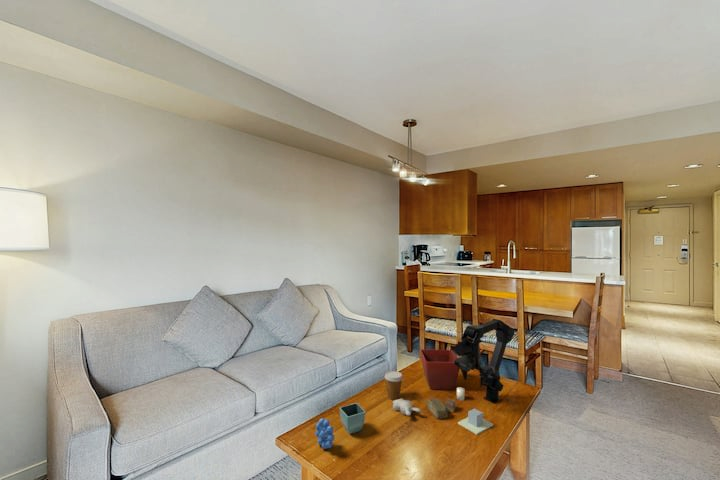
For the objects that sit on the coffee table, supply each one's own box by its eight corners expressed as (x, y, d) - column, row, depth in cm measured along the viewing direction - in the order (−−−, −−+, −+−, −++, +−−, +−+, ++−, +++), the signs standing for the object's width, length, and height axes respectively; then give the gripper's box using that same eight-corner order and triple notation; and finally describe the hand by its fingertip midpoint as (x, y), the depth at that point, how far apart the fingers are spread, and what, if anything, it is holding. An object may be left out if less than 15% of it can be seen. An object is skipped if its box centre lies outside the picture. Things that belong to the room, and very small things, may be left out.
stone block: (437, 420, 150) (437, 409, 150) (426, 408, 161) (426, 397, 161) (448, 418, 151) (448, 408, 151) (436, 406, 162) (436, 396, 162)
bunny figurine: (403, 394, 166) (422, 404, 153) (404, 405, 165) (423, 415, 152) (388, 399, 161) (406, 409, 148) (388, 409, 161) (406, 421, 148)
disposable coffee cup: (403, 401, 166) (403, 378, 166) (384, 401, 167) (385, 378, 167) (401, 392, 176) (401, 370, 176) (383, 392, 176) (384, 370, 176)
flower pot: (347, 438, 136) (347, 417, 136) (338, 427, 144) (339, 407, 144) (365, 432, 140) (366, 411, 140) (356, 422, 148) (356, 402, 148)
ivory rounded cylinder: (459, 395, 173) (459, 386, 173) (466, 399, 170) (466, 389, 170) (454, 398, 171) (455, 388, 171) (461, 401, 167) (461, 391, 167)
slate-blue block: (474, 419, 150) (474, 408, 150) (482, 423, 146) (482, 412, 146) (468, 422, 147) (468, 411, 147) (476, 427, 143) (476, 415, 143)
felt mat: (474, 415, 154) (474, 414, 154) (493, 425, 146) (493, 424, 146) (457, 423, 147) (457, 422, 147) (476, 434, 139) (476, 433, 139)
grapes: (342, 451, 128) (342, 420, 128) (328, 458, 124) (328, 427, 123) (325, 437, 137) (325, 408, 137) (311, 443, 132) (311, 414, 132)
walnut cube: (447, 406, 162) (447, 398, 162) (455, 408, 160) (455, 400, 160) (444, 410, 159) (444, 401, 159) (452, 412, 157) (453, 404, 157)
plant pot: (461, 393, 176) (461, 362, 176) (425, 392, 176) (426, 361, 176) (451, 377, 195) (451, 349, 195) (419, 377, 196) (419, 349, 195)
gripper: (447, 350, 164) (447, 381, 165) (480, 361, 149) (480, 395, 150) (461, 345, 171) (461, 375, 171) (494, 356, 156) (494, 388, 156)
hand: (473, 383), depth 162 cm, fingers open, 9 cm apart
